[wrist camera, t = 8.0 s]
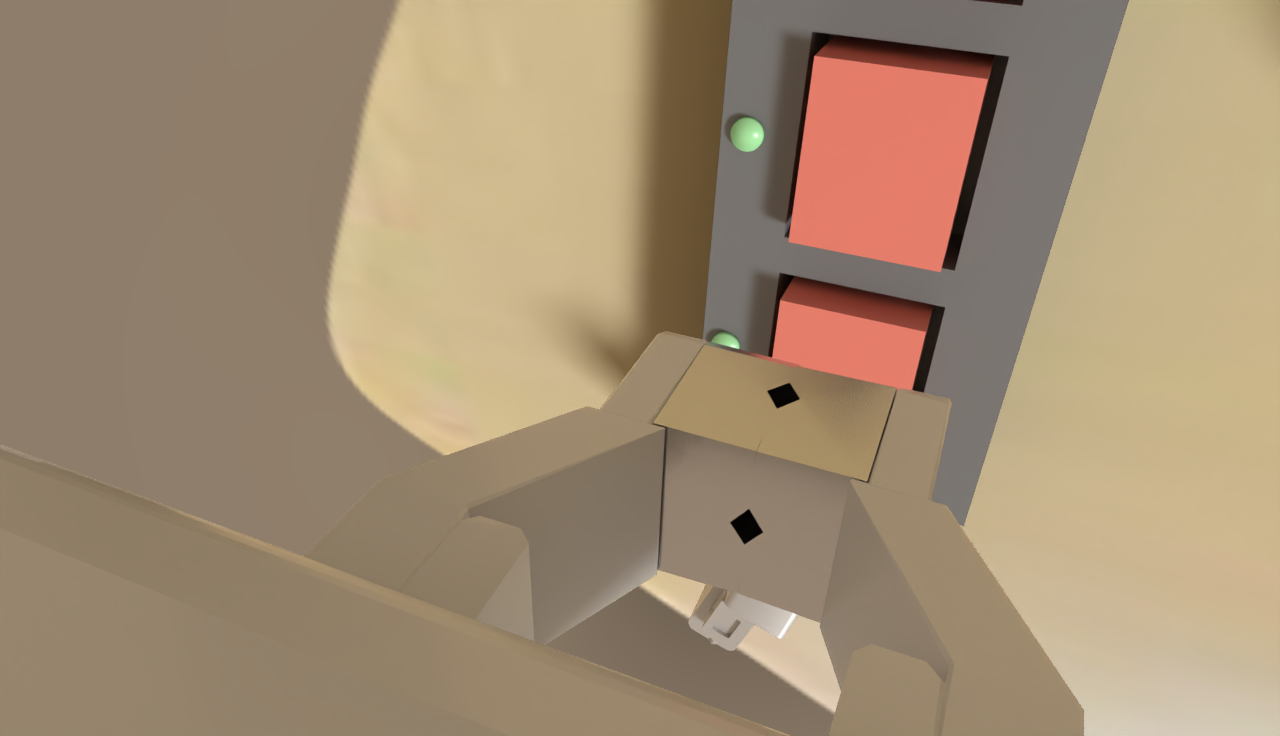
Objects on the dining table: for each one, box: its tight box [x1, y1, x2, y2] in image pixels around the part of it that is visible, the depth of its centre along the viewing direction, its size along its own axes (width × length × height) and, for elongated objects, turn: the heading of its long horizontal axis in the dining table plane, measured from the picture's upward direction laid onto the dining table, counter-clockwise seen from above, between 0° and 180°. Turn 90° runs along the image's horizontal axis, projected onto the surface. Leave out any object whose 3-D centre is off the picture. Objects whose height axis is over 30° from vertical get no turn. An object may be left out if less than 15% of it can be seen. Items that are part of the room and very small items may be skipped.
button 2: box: [789, 35, 995, 272], centre depth 21 cm, size 4×4×3 cm
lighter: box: [688, 584, 798, 650], centre depth 28 cm, size 7×2×8 cm, turn 158°
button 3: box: [772, 276, 934, 394], centre depth 25 cm, size 4×4×3 cm
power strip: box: [703, 0, 1129, 526], centre depth 21 cm, size 24×8×3 cm, turn 178°
